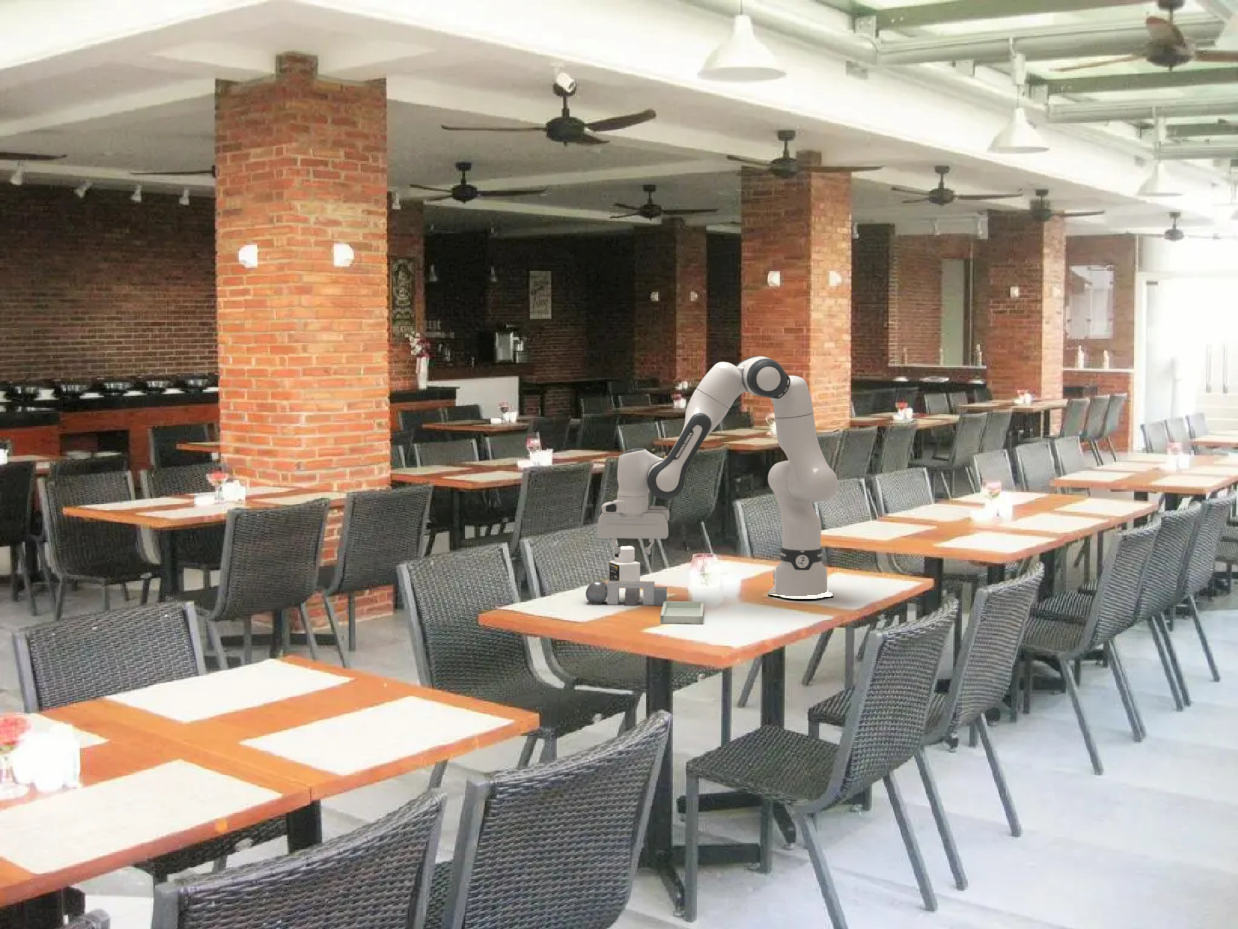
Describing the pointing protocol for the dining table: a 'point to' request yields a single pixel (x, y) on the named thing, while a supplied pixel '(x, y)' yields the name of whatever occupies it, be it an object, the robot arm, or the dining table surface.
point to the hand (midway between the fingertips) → (632, 554)
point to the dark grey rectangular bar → (632, 596)
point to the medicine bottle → (624, 565)
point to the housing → (601, 590)
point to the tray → (682, 612)
